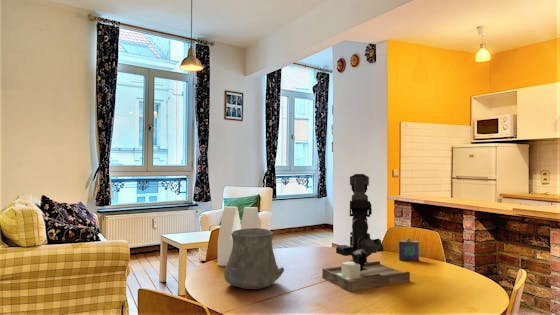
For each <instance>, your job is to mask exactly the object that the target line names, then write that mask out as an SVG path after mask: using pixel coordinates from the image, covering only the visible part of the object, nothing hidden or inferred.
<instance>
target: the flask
mask: <svg viewBox="0 0 560 315" xmlns="http://www.w3.org/2000/svg"><path fill="white" fill-rule="evenodd" d="M398 259H399V261H401V262H419V261H420V242H419V241H418V240H412V238H411V237H407V239H402V240H399V241H398Z"/></svg>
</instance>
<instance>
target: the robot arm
mask: <svg viewBox="0 0 560 315" xmlns="http://www.w3.org/2000/svg"><path fill="white" fill-rule="evenodd" d="M349 186H350V187H351V191H352V193H353V194H351V200H349V217H352V219H351V220H352V221H351V222H352V224H351V232H350V234H349V235H350V236H349V245H347V244H341V245H337V246H336V248H335V253H336V254H338V255H341V256H342V257H343V256H344V257H348V256H351V257H352V260H349V262H351V261H353V262H355V263H358V264H360V271H362V269H363V266H364V263H369V262H370V261H368V258H369V256H371V255H373V254H377V253H380V252H384V246H383V244H382V240H381V239H380V238H375V239H371V235H370V233H368V230H369V223H368V218H370V217H371V215H372V214H373V212H372V203H371V201H370V200H369V197H368V196H369V195H367V194H366V192H368V187H369V186H370V177H369V176H368V175H366V174H364V173H354V174H353V175H351V176H349Z"/></svg>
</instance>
